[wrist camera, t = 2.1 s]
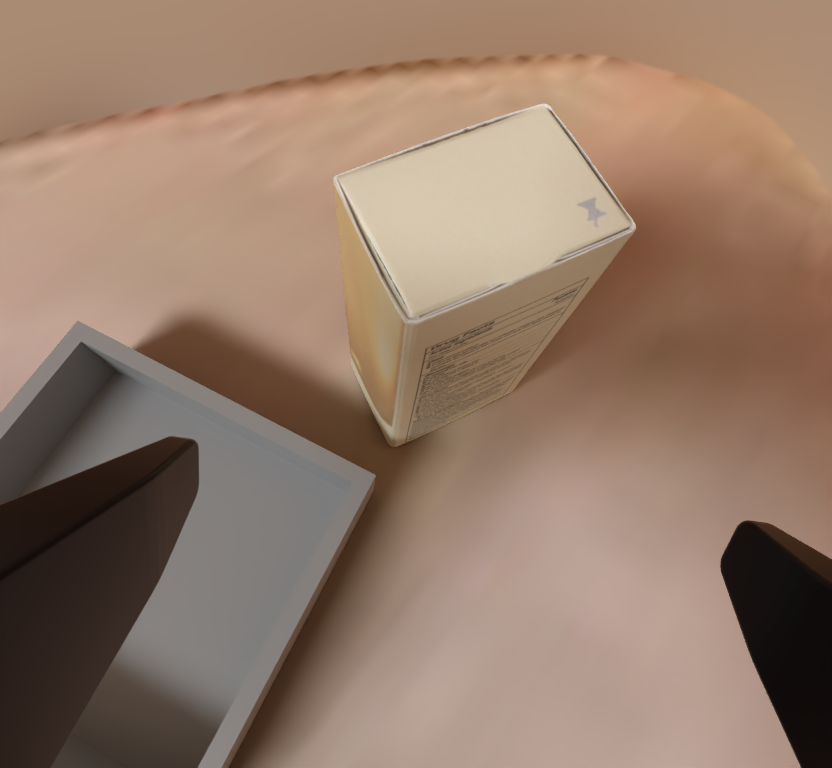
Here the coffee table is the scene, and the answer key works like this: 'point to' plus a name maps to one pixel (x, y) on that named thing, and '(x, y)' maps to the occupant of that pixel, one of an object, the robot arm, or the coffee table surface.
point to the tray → (188, 547)
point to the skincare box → (468, 263)
